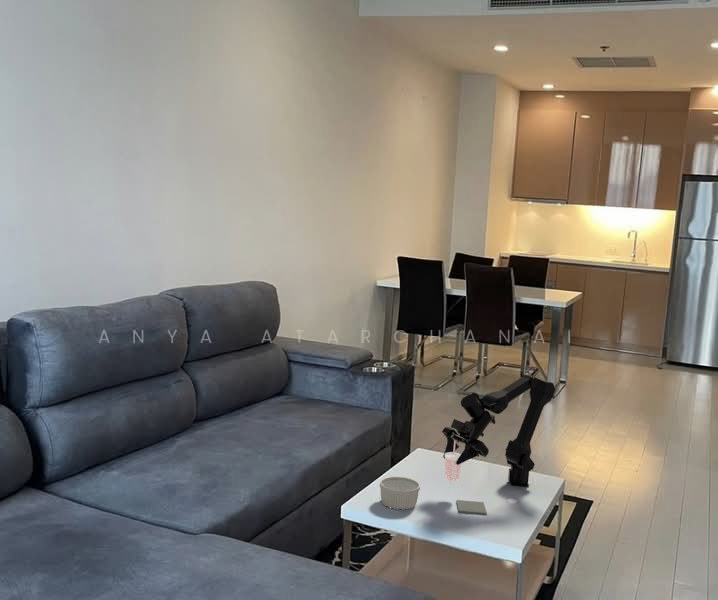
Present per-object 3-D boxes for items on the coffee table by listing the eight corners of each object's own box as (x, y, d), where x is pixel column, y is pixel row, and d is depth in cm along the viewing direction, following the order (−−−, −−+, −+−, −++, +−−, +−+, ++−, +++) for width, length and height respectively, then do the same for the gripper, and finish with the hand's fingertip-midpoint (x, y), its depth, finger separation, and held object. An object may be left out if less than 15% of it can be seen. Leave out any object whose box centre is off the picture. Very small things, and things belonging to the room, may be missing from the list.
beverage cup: (442, 482, 246) (445, 442, 244) (443, 476, 252) (446, 437, 250) (460, 485, 245) (463, 444, 243) (461, 478, 251) (464, 438, 249)
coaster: (483, 503, 246) (483, 502, 246) (486, 514, 237) (486, 513, 237) (456, 501, 247) (456, 499, 246) (458, 512, 238) (458, 510, 238)
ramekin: (370, 502, 241) (371, 482, 240) (395, 492, 251) (396, 473, 250) (402, 515, 233) (403, 494, 232) (426, 504, 243) (428, 484, 242)
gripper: (447, 404, 255) (420, 438, 251) (485, 418, 240) (457, 455, 235) (463, 423, 261) (437, 457, 256) (500, 438, 245) (473, 475, 241)
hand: (450, 461), depth 247 cm, fingers closed on beverage cup, 6 cm apart
